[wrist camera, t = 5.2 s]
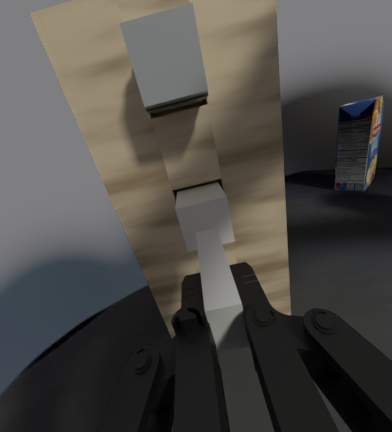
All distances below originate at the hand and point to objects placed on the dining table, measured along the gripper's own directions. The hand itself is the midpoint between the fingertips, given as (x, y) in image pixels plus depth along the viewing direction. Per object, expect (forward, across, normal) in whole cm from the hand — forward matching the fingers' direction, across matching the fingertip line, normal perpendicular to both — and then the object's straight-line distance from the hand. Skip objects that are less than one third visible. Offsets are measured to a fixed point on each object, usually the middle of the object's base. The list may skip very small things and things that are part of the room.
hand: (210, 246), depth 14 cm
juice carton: (+47, +49, -20) cm, 71 cm away
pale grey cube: (+6, 0, -2) cm, 6 cm away
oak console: (+13, 0, -20) cm, 24 cm away
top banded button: (+6, 0, +10) cm, 11 cm away
